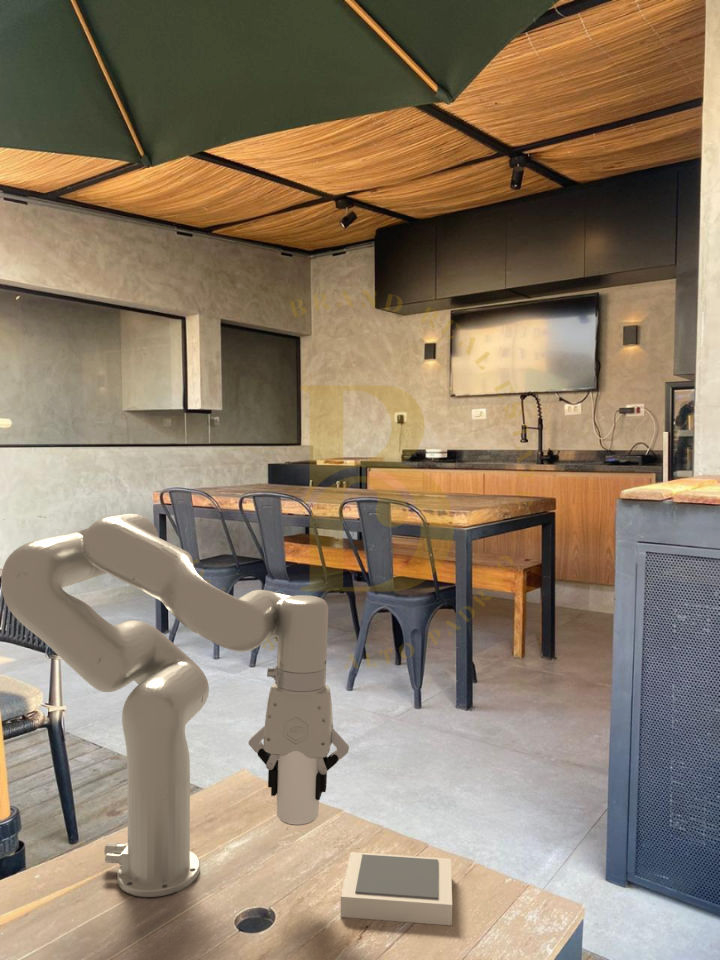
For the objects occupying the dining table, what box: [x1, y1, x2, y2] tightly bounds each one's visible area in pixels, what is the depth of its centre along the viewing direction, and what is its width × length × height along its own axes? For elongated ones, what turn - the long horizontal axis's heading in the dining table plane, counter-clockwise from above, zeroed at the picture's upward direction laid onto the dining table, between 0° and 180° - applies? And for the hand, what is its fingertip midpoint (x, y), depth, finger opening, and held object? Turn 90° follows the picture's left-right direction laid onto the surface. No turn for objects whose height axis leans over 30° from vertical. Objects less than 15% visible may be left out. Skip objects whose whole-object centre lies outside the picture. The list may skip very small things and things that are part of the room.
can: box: [276, 751, 320, 827], centre depth 112 cm, size 6×6×12 cm
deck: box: [340, 851, 453, 926], centre depth 111 cm, size 16×12×3 cm
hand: (297, 792), depth 112 cm, fingers closed on can, 6 cm apart
